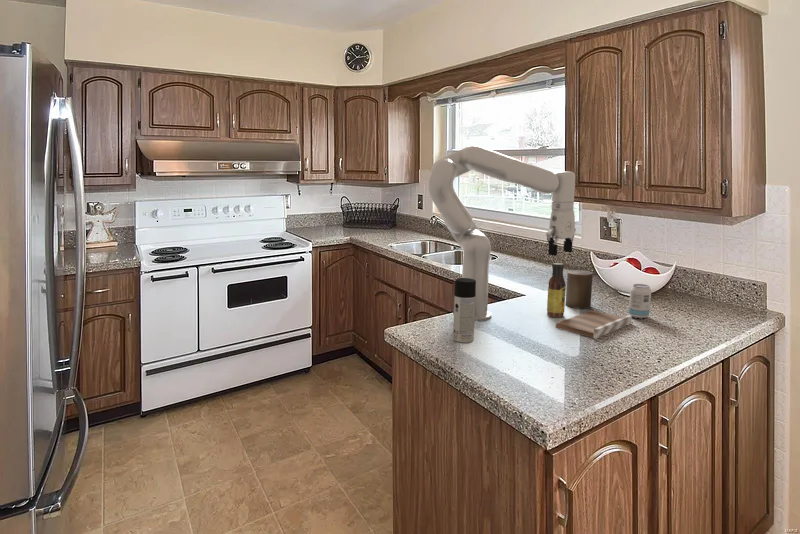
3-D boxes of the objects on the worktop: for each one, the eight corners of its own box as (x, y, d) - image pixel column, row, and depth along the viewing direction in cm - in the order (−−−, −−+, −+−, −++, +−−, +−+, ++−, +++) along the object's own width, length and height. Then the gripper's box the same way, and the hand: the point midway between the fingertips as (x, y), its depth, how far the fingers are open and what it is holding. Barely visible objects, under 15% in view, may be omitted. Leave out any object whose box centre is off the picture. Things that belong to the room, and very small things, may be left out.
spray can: (459, 335, 166) (460, 276, 162) (477, 339, 162) (479, 279, 158) (449, 340, 160) (450, 280, 156) (468, 345, 157) (470, 283, 153)
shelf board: (596, 338, 162) (596, 329, 162) (555, 327, 174) (556, 319, 173) (630, 323, 178) (631, 315, 177) (591, 314, 189) (592, 306, 188)
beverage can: (647, 315, 188) (650, 284, 185) (649, 320, 181) (653, 288, 179) (627, 313, 190) (630, 282, 187) (629, 318, 183) (632, 287, 181)
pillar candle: (594, 308, 196) (597, 271, 193) (569, 308, 196) (571, 271, 193) (585, 302, 205) (588, 266, 203) (561, 302, 206) (564, 266, 203)
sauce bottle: (564, 318, 184) (568, 265, 180) (547, 317, 185) (550, 265, 181) (562, 313, 190) (566, 262, 186) (545, 312, 191) (548, 261, 187)
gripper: (558, 208, 171) (555, 257, 174) (584, 205, 182) (582, 251, 185) (539, 207, 176) (537, 255, 180) (566, 204, 187) (564, 249, 191)
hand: (560, 253), depth 183 cm, fingers open, 9 cm apart
